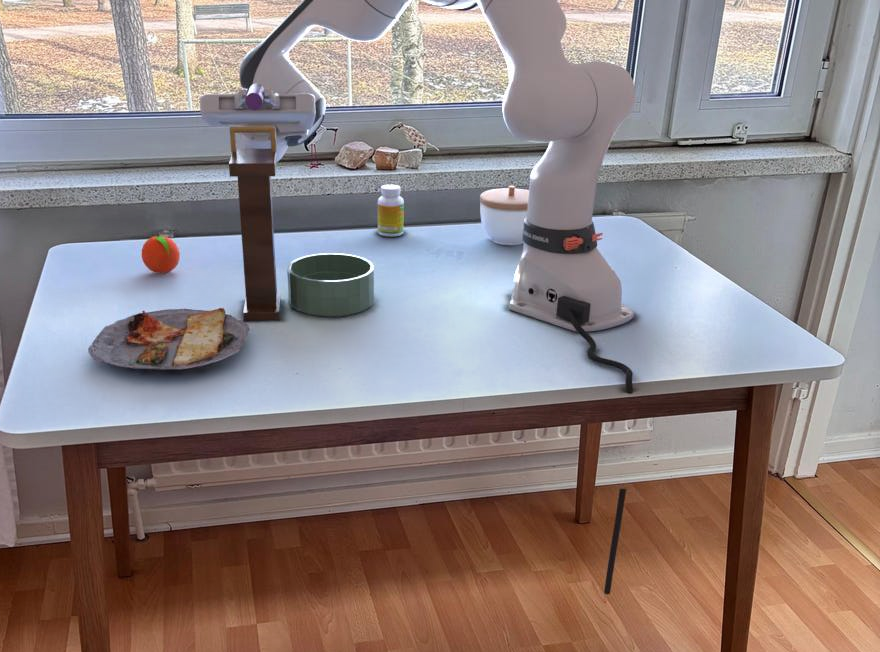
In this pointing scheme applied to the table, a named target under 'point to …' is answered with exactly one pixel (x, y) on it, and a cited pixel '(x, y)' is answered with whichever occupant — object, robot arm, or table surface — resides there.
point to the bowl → (331, 284)
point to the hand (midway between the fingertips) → (255, 93)
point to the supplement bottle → (390, 211)
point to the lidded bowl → (504, 214)
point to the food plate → (170, 339)
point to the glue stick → (255, 97)
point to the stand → (257, 224)
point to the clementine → (160, 254)
